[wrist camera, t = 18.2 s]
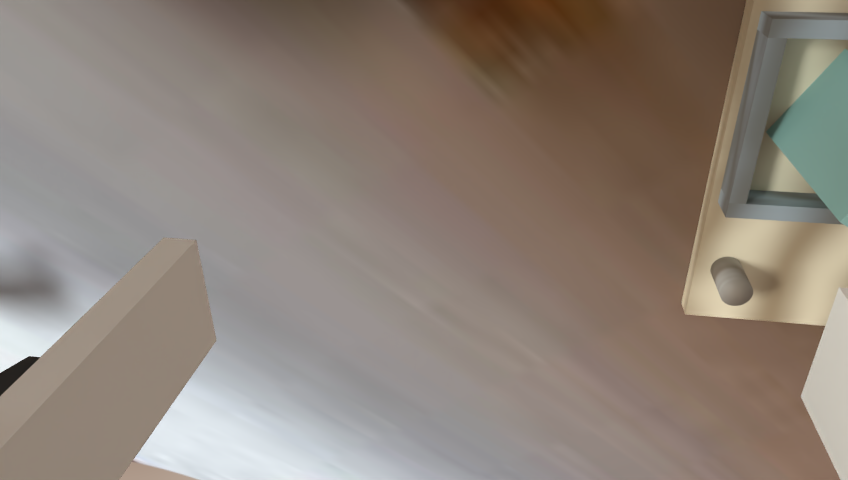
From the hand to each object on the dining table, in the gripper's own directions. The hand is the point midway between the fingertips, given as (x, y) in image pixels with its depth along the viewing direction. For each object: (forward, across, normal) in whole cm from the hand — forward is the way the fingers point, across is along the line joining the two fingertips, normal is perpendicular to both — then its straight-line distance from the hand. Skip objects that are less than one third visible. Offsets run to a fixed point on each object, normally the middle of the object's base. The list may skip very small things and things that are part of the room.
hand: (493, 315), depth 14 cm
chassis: (+32, +19, -9) cm, 38 cm away
